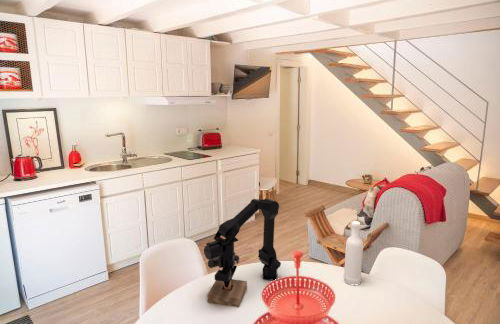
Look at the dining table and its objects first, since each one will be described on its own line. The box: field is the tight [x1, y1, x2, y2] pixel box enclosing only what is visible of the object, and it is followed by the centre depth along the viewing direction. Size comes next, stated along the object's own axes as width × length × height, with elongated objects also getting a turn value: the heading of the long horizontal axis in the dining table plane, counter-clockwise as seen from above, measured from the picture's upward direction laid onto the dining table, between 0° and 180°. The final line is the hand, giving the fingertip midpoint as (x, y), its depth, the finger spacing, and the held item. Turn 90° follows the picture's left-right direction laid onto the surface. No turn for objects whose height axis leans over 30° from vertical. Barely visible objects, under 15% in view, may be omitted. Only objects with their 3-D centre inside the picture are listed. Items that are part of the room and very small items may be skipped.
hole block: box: [206, 278, 248, 308], centre depth 147 cm, size 14×14×4 cm
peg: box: [224, 281, 231, 291], centre depth 146 cm, size 3×3×10 cm
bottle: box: [343, 220, 364, 286], centre depth 157 cm, size 8×8×30 cm
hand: (227, 285), depth 147 cm, fingers closed on peg, 3 cm apart
